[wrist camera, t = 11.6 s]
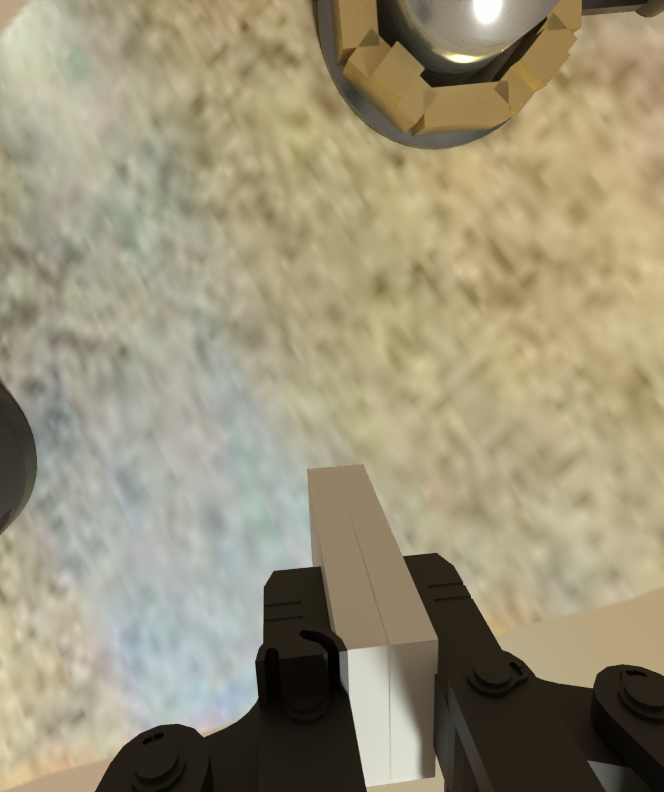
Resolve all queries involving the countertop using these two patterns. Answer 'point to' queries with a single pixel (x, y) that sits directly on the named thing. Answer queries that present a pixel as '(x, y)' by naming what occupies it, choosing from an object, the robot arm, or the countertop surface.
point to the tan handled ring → (462, 104)
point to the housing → (439, 50)
